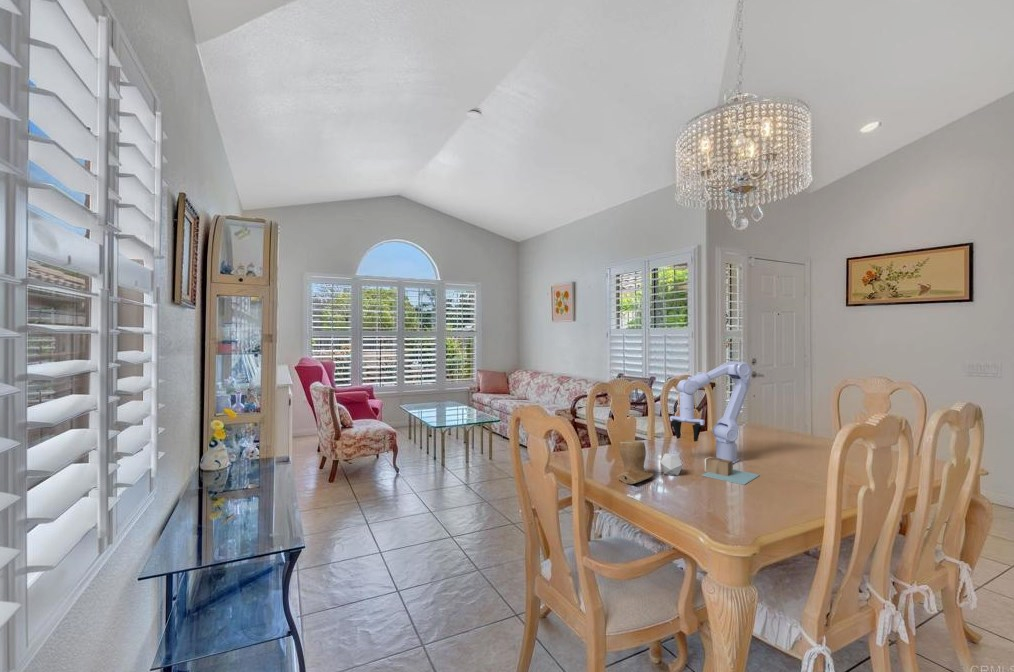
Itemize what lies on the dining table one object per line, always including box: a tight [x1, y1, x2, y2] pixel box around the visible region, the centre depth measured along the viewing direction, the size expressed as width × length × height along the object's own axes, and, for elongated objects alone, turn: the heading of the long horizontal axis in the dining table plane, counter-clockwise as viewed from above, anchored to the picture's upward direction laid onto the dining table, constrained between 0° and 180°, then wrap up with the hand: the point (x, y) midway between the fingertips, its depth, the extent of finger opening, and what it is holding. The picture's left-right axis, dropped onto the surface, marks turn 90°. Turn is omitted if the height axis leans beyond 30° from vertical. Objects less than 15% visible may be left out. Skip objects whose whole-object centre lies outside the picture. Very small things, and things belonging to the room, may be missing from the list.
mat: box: [701, 469, 760, 486], centre depth 184 cm, size 16×16×1 cm
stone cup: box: [616, 440, 654, 485], centre depth 180 cm, size 15×12×15 cm
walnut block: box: [704, 456, 734, 476], centre depth 187 cm, size 5×5×9 cm
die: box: [659, 452, 683, 476], centre depth 187 cm, size 8×9×10 cm
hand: (687, 439), depth 201 cm, fingers open, 7 cm apart
